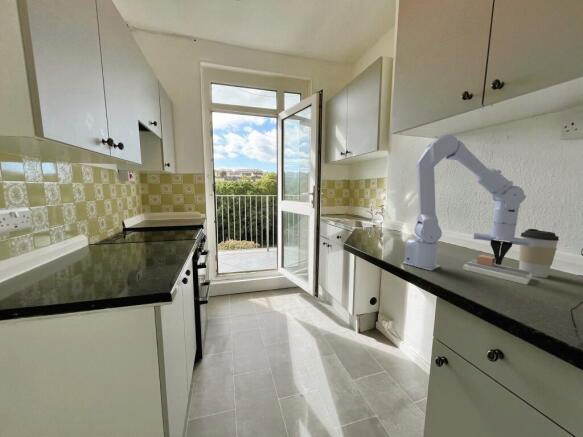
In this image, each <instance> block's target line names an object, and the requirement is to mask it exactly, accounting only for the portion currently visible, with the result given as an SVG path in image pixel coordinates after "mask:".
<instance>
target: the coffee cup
mask: <svg viewBox="0 0 583 437" xmlns="http://www.w3.org/2000/svg"><path fill="white" fill-rule="evenodd" d="M520 238H521V239H528V240H534V243H533V247H528V246H523V245H519V257H518V258H519V259H518V260H519V265H518V266H519V267H518V269H521V270H526V271H530V274H532V277H535V278H545V279H546V278H548V276H549V272H550V269H551V266H552V265H553V262H554V259H555V255H556V252H557V245H558V242H559V241H560V239H559V236H558V235H556V233H555V232H552V231H544V230H539V229H536V228H528V229H526V230H524V232H521V233H520Z"/></svg>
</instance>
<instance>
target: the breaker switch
mask: <svg viewBox="0 0 583 437" xmlns="http://www.w3.org/2000/svg"><path fill="white" fill-rule="evenodd" d="M476 260H477V264H481V265H485V266H490V267H494V264H495V256H489V255H484V254H480V255H477V259H476Z"/></svg>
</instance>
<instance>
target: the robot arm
mask: <svg viewBox="0 0 583 437" xmlns="http://www.w3.org/2000/svg"><path fill="white" fill-rule="evenodd" d="M443 159H445V160H452V161H458V162H459V163H460V164H462V165H463V166H464V167H465V168H467V169H468V170H469V171H470V172H472V173H473V174H474V175H476V182H477V183H478V184H479V185H481V186H482V187H483V188H484V189H485V190H486V191H487V192H488V193H489V194H491V197H492V200H493V201H494V202H495V206H494V212H493V218H492V219H493V220H492V227H491V233H490V234H489V233H480V232H479V233H477V232H474V234H473V240H481V241H486V242H490V243H489V245H490V247H491V249H492V251H493V257H495V264H497V265H502V262H503V259H504V257H505V256H506V254H507V253H508V251H510V249H512V246H513V245H516V246H520V245H523V246H528V247H533V243H534V240H528V239H521V237H520V238H519V237H515V235H516V229H517V223H518V217H519V212H520V211H519V209H520V205H521V203H524V202H525V199H527V195H526V194H525V191H524V190H523V188H522V187H520V186H517V185H513V184H514V181H513V180H509V179H508V178H506V177H505V176H504V175H503V174H502V171H501V170H500V169H496V168H494V167H493V168H492V167H491V168H488V167H487V166H486V165H485V164H484V163H483V162H482V161H480V159H479V158H478V157H476V155H474V153H472V152H471V150H469V148H467V146H466V145H465V143H464V142H463V141H461V140H459V139H458V137H456V136H455V135H453V134H444V135H442V136H440V137H439V138H437V139H436V140H434V141H432V142H431V143H430V144H429V145H428V146H426V147H425V149H424V151H423V153H422V155H421V156H420V158H419V159H418V161H417V163H416V169H417V171H416V172H417V173H416V174H417V197H418V198H417V201H418V202H417V204H418V215H417V218H416V224H415V226H414V234H416V236H415V237H414V238H410V239H408V240H407V242H406V244H405V252H404V261H403V262H402V263H403V264H405V265H409V266H412V267H417V268H419V269H424V270H427V271H433V270H435V269H438V268H441V265H440V264H437V257H438V255H437V254H438V248H439V247H438V246H439V240H440V239H441V237H442V235H443V233H442V229H441V228H440V226H439V220H438V219H439V218H438V216H437V213H436V190H435V189H436V188H435V186H436V185H435V184H436V183H435V181H436V180H435V167H436V166H437V165H438V164H439V163H440V162H441V161H443Z"/></svg>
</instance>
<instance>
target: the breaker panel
mask: <svg viewBox="0 0 583 437" xmlns="http://www.w3.org/2000/svg"><path fill="white" fill-rule="evenodd" d="M462 269H463V270H465V271H468V272H473V273H475V274H481V275H484V276H489V277H493V278H497V279H502V280H506V281H511V282H514V283H519V284H523V285H525V286H526V285H528V284H529V283H530V281H531V280H532V278H533V276H532V274H530V271H526V270H521V269H519V268H516V267H511V266H506V265H502V264H501V265H497V264H494V267H490V266H485V265H481V264H477V259H471V261H467V262H466V263H464V264H463V267H462Z"/></svg>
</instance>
